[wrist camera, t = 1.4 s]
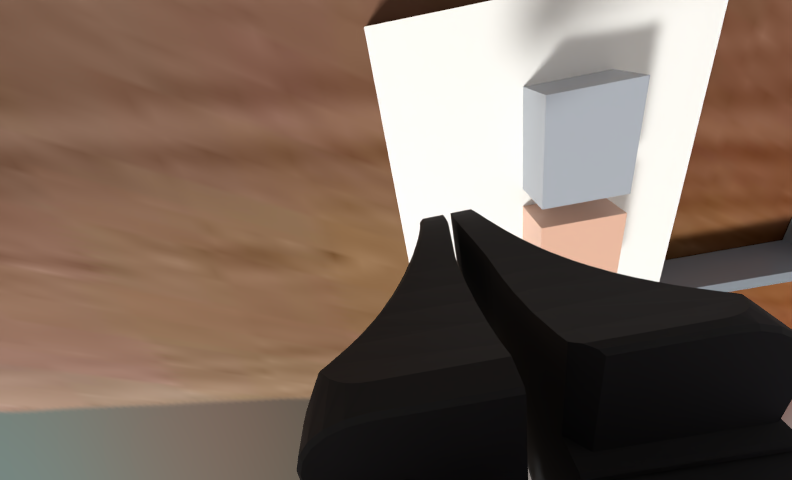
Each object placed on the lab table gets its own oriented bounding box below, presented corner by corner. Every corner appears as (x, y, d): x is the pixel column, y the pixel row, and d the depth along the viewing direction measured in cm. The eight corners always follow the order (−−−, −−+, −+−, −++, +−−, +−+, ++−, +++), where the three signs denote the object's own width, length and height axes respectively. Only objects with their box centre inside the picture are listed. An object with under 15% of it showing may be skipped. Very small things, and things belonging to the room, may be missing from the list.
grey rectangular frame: (940, -87, 16) (1052, -110, 13) (790, 247, 25) (839, 273, 22) (690, -35, 16) (750, -48, 14) (631, 275, 25) (660, 303, 23)
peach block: (598, 192, 19) (627, 213, 17) (589, 268, 22) (613, 295, 19) (522, 206, 19) (541, 228, 17) (522, 280, 22) (539, 307, 20)
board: (691, -41, 16) (740, -52, 14) (630, 277, 25) (654, 300, 23) (365, 27, 17) (364, 26, 15) (419, 313, 26) (424, 339, 24)
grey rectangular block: (612, 68, 16) (650, 74, 14) (600, 174, 18) (630, 193, 16) (523, 86, 16) (546, 95, 14) (522, 188, 19) (542, 209, 16)
